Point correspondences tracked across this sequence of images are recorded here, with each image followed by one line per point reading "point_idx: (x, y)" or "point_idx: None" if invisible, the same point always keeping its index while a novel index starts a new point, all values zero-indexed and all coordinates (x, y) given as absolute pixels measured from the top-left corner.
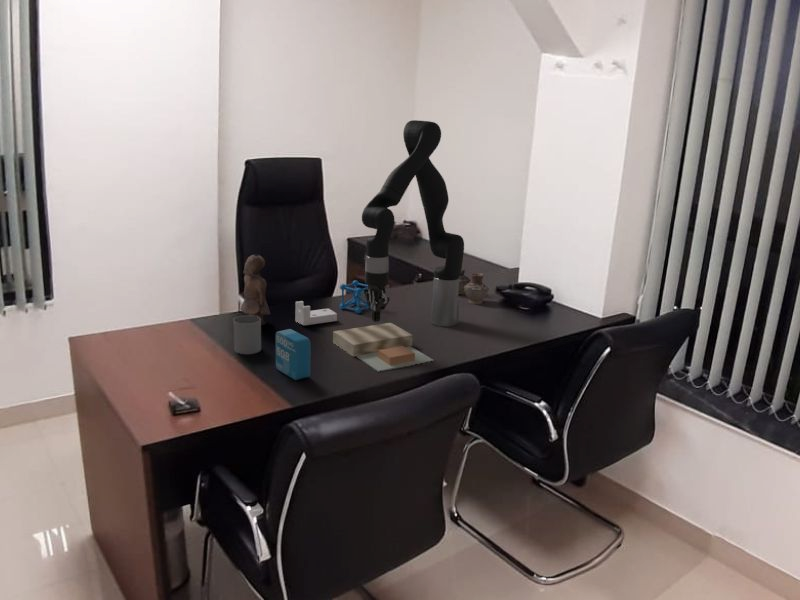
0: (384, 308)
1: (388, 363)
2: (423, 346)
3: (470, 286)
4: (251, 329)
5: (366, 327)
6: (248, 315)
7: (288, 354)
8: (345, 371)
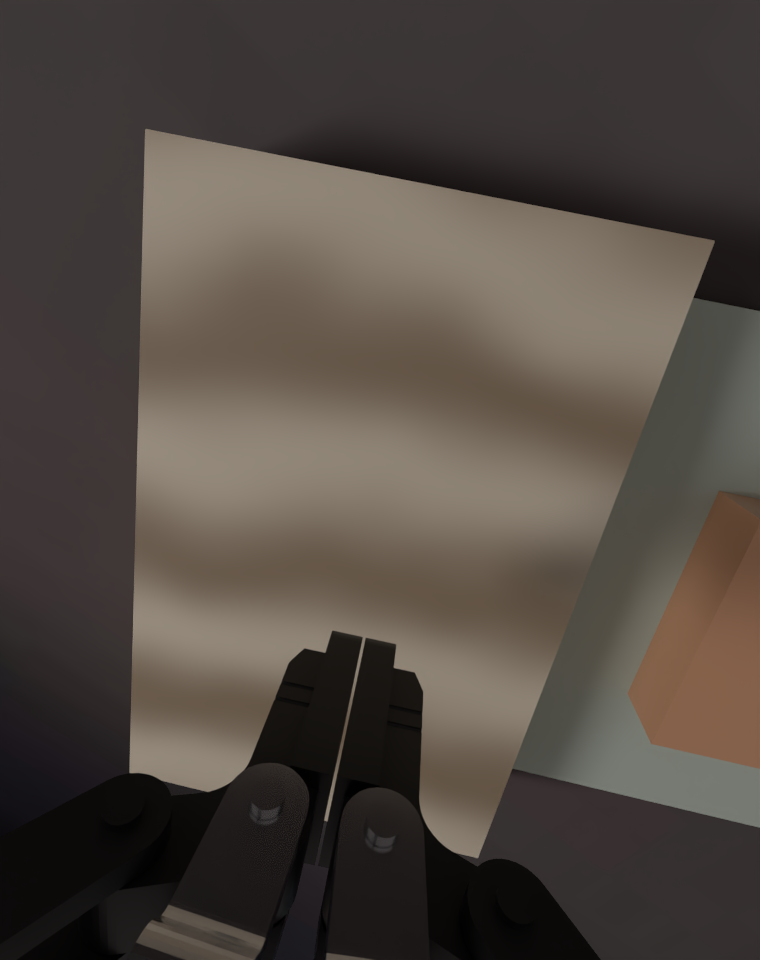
0: (568, 927)
1: None
2: (747, 131)
3: None
4: None
5: (168, 508)
6: None
7: None
8: (617, 919)
